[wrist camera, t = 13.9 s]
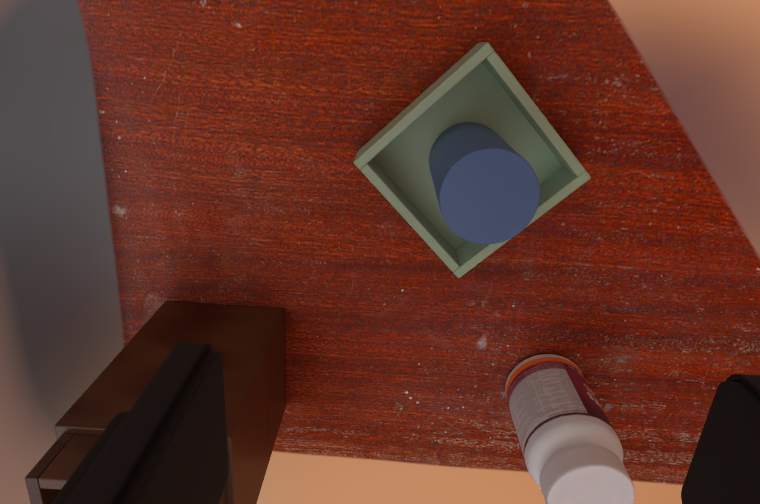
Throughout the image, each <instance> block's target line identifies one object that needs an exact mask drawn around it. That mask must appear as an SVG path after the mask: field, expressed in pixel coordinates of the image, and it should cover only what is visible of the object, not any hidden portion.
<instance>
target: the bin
mask: <svg viewBox="0 0 760 504" xmlns="http://www.w3.org/2000/svg"><path fill="white" fill-rule="evenodd" d="M464 122H474V123H479V124H483V125H485V126H487V127H489V128H490V129H492V130H493V131H494V132H495V133H496V134H497V135H499V136H500V137H501V138H502V139H503V140H504V141H505V142H506V143H507V144H508V145H510V146H511V147H512V148H513V149H514V150H515V151H516V152H517V153H518V154H520V155H521V156H522V157H523V158H524V159H525V160H526V161H527V162H528V163H529V164H530V165H531V167H532V168H533V170H534V172H535V174H536V176H537V179H538V182H539V187H540V198H539V204H538V208H537V210H536V213H535V215H534V217H533V218H532V220H531V221H530V223H529V224H528V225H530V224H531V223H532V222H534V221H535V220H536V219H538V218H539V217H540V216H542V215H543V214H544V213H546V212H547V211H548V210H550V209H551V208H552V207H553V206H555V205H556V204H557V203H559V202H560V201H561V200H563V199H564V198H565V197H567V196H568V195H569V194H571V193H572V192H573V191H575V190H576V189H577V188H579V187H580V186H581V185H582V184H584V183H585V182H586V181H588V180H589V179H590V178H591V177H590V175H589V174H588V173H587V171H585V169H584V168H583V166H582V165H581V164H580V162H579V161H578V160H577V158H576V157H575V156H574V154H573V153H572V152H571V150H570V149H569V148H568V147H567V145H566V144H565V143H564V141H563V140H562V139H561V137H560V136H559V135H558V133H557V132H556V131H555V129H554V128H553V127H552V125H551V124H550V123H549V122H548V120H547V119H546V118H545V116H544V115H543V114H542V112H541V111H540V110H539V108H538V107H537V106H536V104H535V103H534V102H533V101H532V99H531V98H530V97H529V95H528V94H527V93H526V91H525V90H524V89H523V87H522V86H521V85H520V83H519V82H518V81H517V80H516V78H515V77H514V76H513V74H512V73H511V72H510V70H509V69H508V68H507V66H506V65H505V64H504V62H503V61H502V60H501V59H500V57H499V56H498V55H497V53H496V52H495V51H494V49H493V48H492V47H491V45H490V44H489V43H478V44H476V45H475V46H474V47H473V48H472V49H471V50H470V51H469V52H468V53H466V54H465V55H464V56H463V57H462V58H461V59H460V60H459V61H458V62H456V63H455V64H454V65H453V66H452V67H451V68H450V69H449V70H448V71H446V72H445V73H444V74H443V75H442V76H441V77H440V78H439V79H437V80H436V81H435V82H434V83H433V84H432V85H431V86H430V87H429V88H427V89H426V90H425V91H424V92H423V93H422V94H421V95H420V96H419V97H417V98H416V99H415V100H414V101H413V102H412V103H411V104H410V105H409V106H407V107H406V108H405V109H404V110H403V111H402V112H401V113H400V114H398V115H397V116H396V117H395V118H394V119H393V120H392V121H391V122H390V123H388V124H387V125H386V126H385V127H384V128H383V129H382V130H381V131H380V132H378V133H377V134H376V135H375V136H374V137H373V138H372V139H371V140H370V141H368V142H367V143H366V144H365V145H364V146H363V147H362V148H361V149H360V150H358V151H357V154H356V157H355V160H354V164H355V165H356V166H357V167H358V168H359V169H360V170H361V172H362V173H363V174H364V175H365V176H366V177H367V178H368V179H369V180H370V182H371V183H372V184H373V185H374V186H375V187H376V188H377V189H378V190H379V191H380V193H381V194H382V195H383V196H384V197H385V198H386V199H387V200H388V201H389V202H390V204H391V205H392V206H393V207H394V208H395V209H396V210H397V211H398V212H399V213H400V215H401V216H402V217H403V218H404V219H405V220H406V221H407V222H408V223H409V224H410V226H411V227H412V228H413V229H414V230H415V231H416V232H417V233H418V234H419V235H420V237H421V238H422V239H423V240H424V241H425V242H426V243H427V244H428V245H429V246H430V248H431V249H432V250H433V251H434V252H435V253H436V254H437V255H438V256H439V257H440V259H441V260H442V261H443V262H444V263H445V264H446V265H447V266H448V267H449V268H450V270H451V271H452V272H453V273H454V274H455V275H456V276H457V277H458V278H460V277H461V276H463V275H464V274H465V273H467V272H468V271H469V270H471V269H472V268H473V267H474V266H476V265H477V264H478V263H480V262H481V261H482V260H484V259H485V258H486V257H488V256H489V255H490V254H492V253H493V252H494V251H496V250H497V249H498V248H500V247H501V246H502V245H503V244H505V243H506V242H507V241H509V240H510V239H509V240H506V241H504V242H500V243H496V244H476V243H472V242H469V241H466V240H464V239H462V238H461V237H459V236H458V235H456V234H455V233H454V232H453V231H452V230H451V229H450V228H449V227H448V225H447V224H446V222H445V221H444V219H443V216H442V214H441V211H440V207H439V203H438V199H437V195H436V192H435V188H434V184H433V180H432V177H431V173H430V169H429V156H430V151H431V148H432V146H433V144H434V142H435V141H436V139H437V138H438V137H439V135H440V134H441V133H442V132H444V131H445V130H446V129H448V128H449V127H451V126H453V125H456V124H459V123H464ZM528 225H527V226H528ZM527 226H526V227H527ZM526 227H525V228H526Z"/></svg>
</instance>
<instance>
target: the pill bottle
mask: <svg viewBox="0 0 760 504" xmlns="http://www.w3.org/2000/svg"><path fill="white" fill-rule="evenodd" d="M505 395H506V400H507V403H508V407H509V409H510V413H511V416H512V419H513V423H514V426H515V429H516V433H517V436H518V439H519V443H520V446H521V449H522V453H523V456H524V460H525V463H526V466H527V469H528V472H529V474H530V476H531V477H532V479H533V480H534V481H535V483H536V484H537V485H538V486H540V487H541V491H542V493H543V495H544V498H545V501H546V504H633V502H634V499H635V490H634V485H633V483H632V481H631V479H630V477H629V475H628V473H627V471H626V468H625V466H624V464H623V449H622V445H621V443H620V440H619V438H618V436H617V434H616V432H615V431H614V429H613V428H612V426H611V424H610V422H609V421H608V419H607V417H606V415H605V414H604V412H603V410H602V408H601V406H600V404H599V403H598V401H597V399H596V397H595V395H594V393H593V392H592V390H591V388H590V386H589V384H588V382H587V381H586V379H585V377H584V376H583V374H582V372H581V371H580V369H579V368H578V367H577V365H575V364H574V363H573V362H572V361H570V360H569V359H567V358H565V357H562V356H559V355H554V354H541V355H536V356H533V357H530V358H528V359H526V360H524V361H522V362H520V363H519V364H518V365H517V366H516V367H515V368H514V369H513V370H512V371H511V373H510V374H509V376H508V379H507V381H506V386H505Z"/></svg>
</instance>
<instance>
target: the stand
mask: <svg viewBox="0 0 760 504" xmlns="http://www.w3.org/2000/svg"><path fill="white" fill-rule="evenodd" d="M178 342H190V343H207V344H210V345H211V346H212V349H213V352H220V353H221V355H222V362H223V378H224V395H225V411H226V428H227V444H228V461H229V469H228V477H227V481H226V485H225V488H224V491H223V493H222V496H221V499H220V502H219V504H256V503H257V499H258V496H259V493H260V490H261V486H262V483H263V480H264V476H265V473H266V470H267V466H268V463H269V460H270V456H271V453H272V450H273V447H274V443H275V440H276V437H277V434H278V430H279V427H280V424H281V420H282V417H283V414H284V411H285V407H286V386H285V309H279V308H264V307H249V306H234V305H218V304H203V303H188V302H173V301H165V302H164V304H163V305H162V306H161V307H160V308H159V309H158V310H157V311H156V313H155V314H154V315H153V316H152V317H151V318H150V319H149V320H148V322H147V323H146V324H145V325H144V326H143V327H142V328H141V329H140V331H139V332H138V333H137V334H136V335H135V336H134V337H133V338H132V339H131V341H130V342H129V343H128V344H127V345H126V346H125V347H124V348H123V350H122V351H121V352H120V353H119V354H118V355H117V356H116V357H115V359H114V360H113V361H112V362H111V363H110V364H109V365H108V367H107V368H106V369H105V370H104V371H103V372H102V373H101V374H100V375H99V376H98V378H97V379H96V380H95V381H94V382H93V383H92V384H91V385H90V387H89V388H88V389H87V390H86V391H85V392H84V393H83V394H82V396H81V397H80V398H79V399H78V400H77V401H76V402H75V403H74V404H73V406H72V407H71V408H70V409H69V410H68V411H67V412H66V413H65V415H64V416H63V417H62V418H61V419H60V420H59V421H58V422H57V424H56V425H55V426H54V427H55V433H56V437H57V441H56V442H55V443H54V444H53V446H52V447H51V448H50V449H49V450H48V451H47V453H46V454H45V455H44V456H43V457H42V459H41V460H40V461H39V462H38V463H37V464H36V465H35V467H34V468H33V469H32V470H31V471H30V472H29V474H28V475H27V476H26V477H25V481H26V485H27V489H28V493H29V498H30V502H31V504H51V503H52V501H53V500H54V498H55V497H56V496H57V494H58V493H59V492H60V490H61V489H62V488H63V486H64V485H65V483H66V482H67V481H68V479H69V478H70V477H71V475H72V474H73V472H74V471H75V470H76V468H77V467H78V466H79V464H80V463H81V461H82V460H83V459H84V457H85V456H86V455H87V453H88V452H89V451H90V449H91V448H92V446H93V445H94V444H95V442H96V441H97V440H98V438H99V437H100V435H101V434H102V433H103V431H104V430H105V429H106V427H107V426H108V424H109V423H110V422H111V420H112V419H113V418H114V417H115V416H116V415H117V414H118V413H121V412H129V411H130V409H131V408H132V407H133V405H134V404H135V402H136V401H137V399H138V398H139V397H140V395H141V394H142V392H143V391H144V389H145V388H146V387H147V385H148V384H149V382H150V381H151V379H152V378H153V377H154V375H155V374H156V372H157V371H158V369H159V368H160V367H161V365H162V364H163V362H164V361H165V359H166V358H167V357H168V355H169V354H170V352H171V351H172V349H173V348H174V347H175V345H176V344H177V343H178Z"/></svg>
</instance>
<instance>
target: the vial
mask: <svg viewBox="0 0 760 504" xmlns="http://www.w3.org/2000/svg"><path fill="white" fill-rule="evenodd" d="M429 169H430V173H431V177H432V180H433V184H434V188H435V192H436V195H437V199H438V203H439V207H440V211H441V214H442V216H443V219H444V221H445V222H446V224H447V225H448V227H449V228H450V229H451V230H452V231H453V232H454V233H455V234H456V235H458V236H459V237H461V238H462V239H464V240H466V241H469V242H472V243H476V244H496V243H500V242H504V241H506V240H509V239H511V238H513V237H514V236H516V235H517V234H519V233H520V232H521V231H522V230H524V229H525V227H526V226H527V225H528V224H529V223H530V221H531V220H532V218H533V217H534V215H535V213H536V210H537V208H538V204H539V198H540V187H539V182H538V179H537V176H536V174H535V172H534V170H533V168H532V167H531V165H530V164H529V163H528V162H527V161H526V160H525V159H524V158H523V157H522V156H521V155H520V154H518V153H517V152H516V151H515V150H514V149H513V148H512V147H511V146H510V145H508V144H507V143H506V142H505V141H504V140H503V139H502V138H501V137H500V136H499V135H497V134H496V133H495V132H494V131H493V130H492V129H490V128H489V127H487V126H485V125H483V124H479V123H474V122H464V123H459V124H456V125H453V126H451V127H449V128H448V129H446V130H445V131H444V132H442V133H441V134H440V135H439V137H438V138H437V139H436V141H435V142H434V144H433V146H432V148H431V151H430V156H429Z"/></svg>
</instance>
